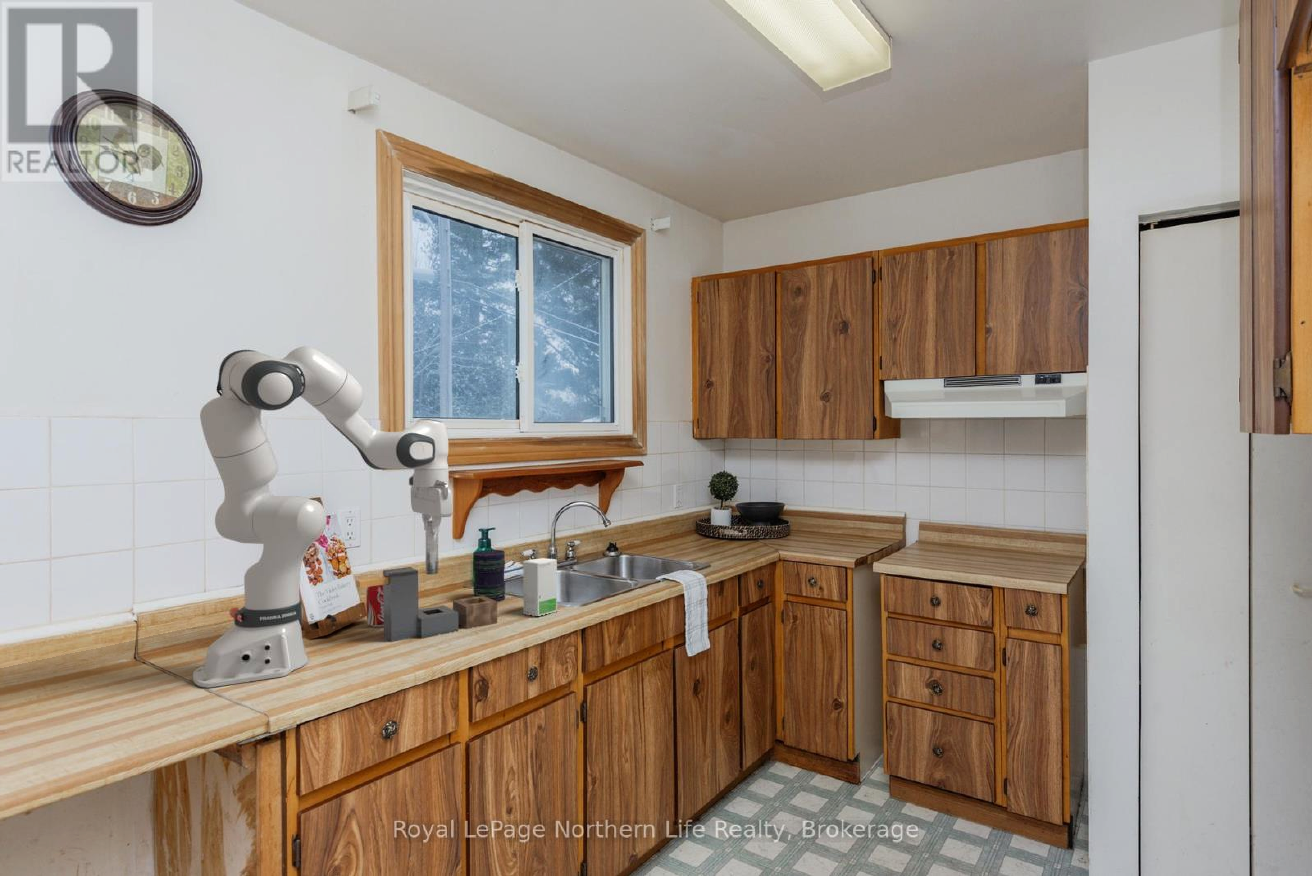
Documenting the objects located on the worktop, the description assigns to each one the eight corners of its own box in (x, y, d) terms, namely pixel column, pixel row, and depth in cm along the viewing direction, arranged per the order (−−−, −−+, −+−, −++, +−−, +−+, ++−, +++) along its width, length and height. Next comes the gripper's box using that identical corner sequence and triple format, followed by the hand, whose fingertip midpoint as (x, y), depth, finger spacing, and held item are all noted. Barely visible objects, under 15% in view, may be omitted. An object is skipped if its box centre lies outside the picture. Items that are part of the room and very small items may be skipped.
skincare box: (537, 617, 200) (537, 563, 200) (521, 614, 204) (521, 561, 204) (558, 611, 207) (558, 559, 206) (542, 608, 211) (542, 556, 210)
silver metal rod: (428, 574, 185) (428, 522, 185) (423, 573, 188) (423, 520, 188) (440, 573, 187) (439, 521, 187) (435, 571, 190) (435, 520, 190)
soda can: (371, 630, 189) (371, 585, 189) (363, 624, 194) (362, 581, 194) (397, 625, 193) (397, 581, 193) (389, 619, 199) (388, 577, 199)
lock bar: (359, 587, 175) (359, 581, 175) (357, 586, 177) (356, 580, 177) (415, 580, 184) (415, 574, 184) (412, 578, 186) (412, 572, 186)
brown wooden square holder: (466, 628, 189) (466, 606, 189) (453, 622, 196) (452, 600, 196) (497, 622, 195) (496, 601, 195) (482, 616, 202) (482, 595, 202)
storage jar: (509, 596, 226) (509, 550, 226) (499, 603, 217) (499, 555, 216) (479, 595, 227) (479, 549, 227) (468, 603, 218) (468, 555, 217)
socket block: (394, 643, 177) (393, 575, 176) (381, 634, 184) (380, 569, 184) (458, 631, 187) (457, 566, 187) (443, 623, 195) (443, 561, 195)
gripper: (458, 481, 182) (458, 534, 181) (428, 477, 197) (428, 526, 197) (435, 482, 178) (435, 536, 178) (406, 478, 193) (406, 528, 193)
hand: (431, 531), depth 188 cm, fingers closed on silver metal rod, 3 cm apart
